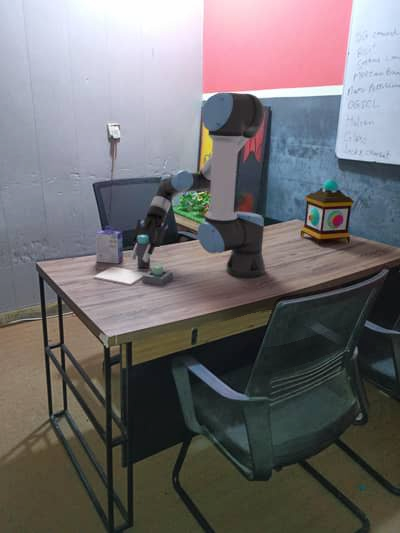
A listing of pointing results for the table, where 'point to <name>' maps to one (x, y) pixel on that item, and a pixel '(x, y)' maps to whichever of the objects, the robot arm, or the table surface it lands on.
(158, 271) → the button
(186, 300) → the table surface
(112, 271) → the paper pad
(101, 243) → the ink cartridge box
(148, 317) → the table surface
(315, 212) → the decorative lantern
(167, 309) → the table surface
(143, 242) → the ball
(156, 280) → the button housing
